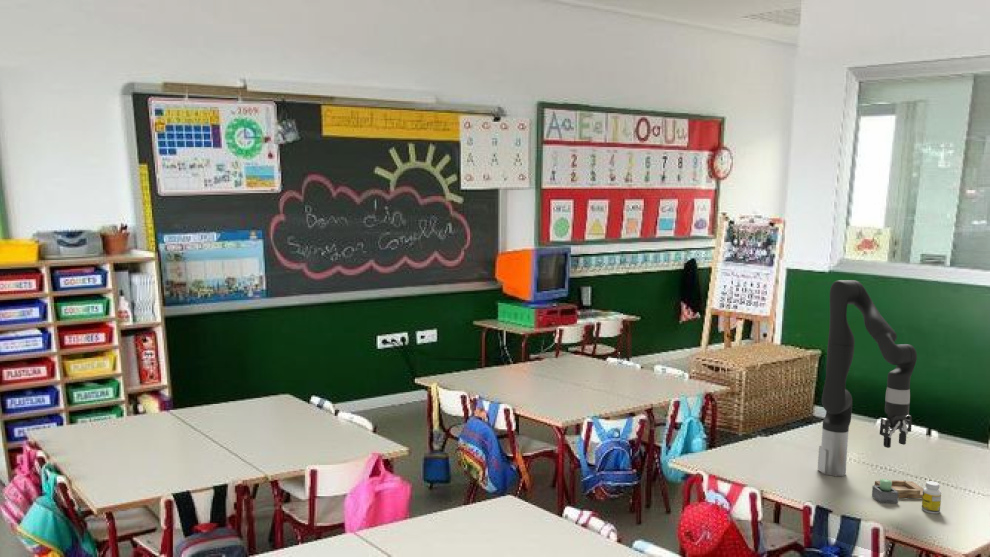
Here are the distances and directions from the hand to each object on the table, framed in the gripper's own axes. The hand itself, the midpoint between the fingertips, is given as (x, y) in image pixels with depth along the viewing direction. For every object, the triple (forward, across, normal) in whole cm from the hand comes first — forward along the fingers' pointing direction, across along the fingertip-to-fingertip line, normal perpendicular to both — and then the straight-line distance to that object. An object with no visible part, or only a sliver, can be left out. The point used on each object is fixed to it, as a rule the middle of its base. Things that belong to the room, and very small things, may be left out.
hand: (894, 445), depth 262 cm
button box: (+19, -4, 0) cm, 19 cm away
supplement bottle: (+20, +2, -13) cm, 24 cm away
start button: (+15, -4, 0) cm, 16 cm away
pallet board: (+19, +10, +2) cm, 21 cm away
